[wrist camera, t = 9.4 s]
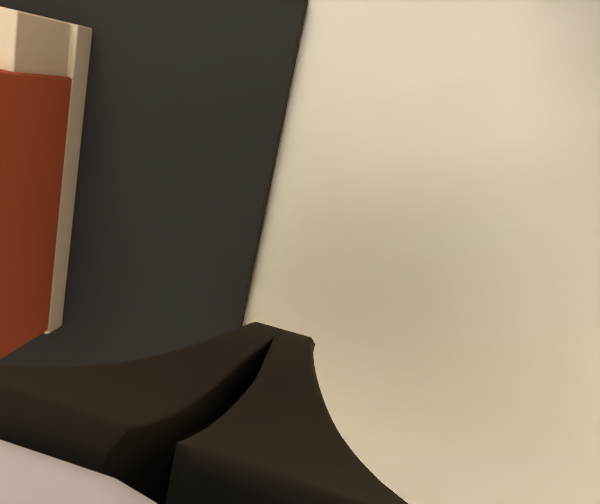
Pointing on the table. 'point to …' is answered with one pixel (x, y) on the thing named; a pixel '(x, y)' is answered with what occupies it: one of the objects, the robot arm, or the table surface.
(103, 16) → the mat
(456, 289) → the table surface
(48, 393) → the robot arm
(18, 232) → the book in orange sleeve
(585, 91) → the table surface
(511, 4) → the table surface
